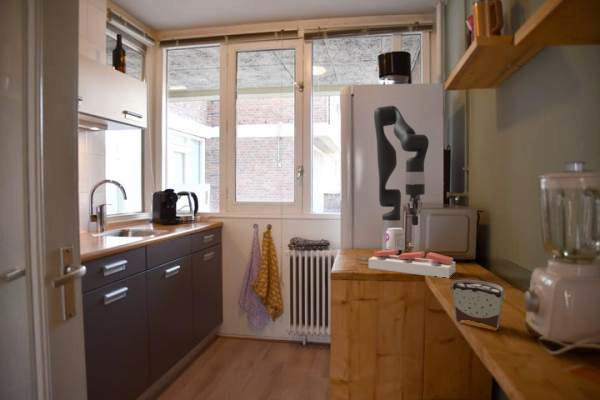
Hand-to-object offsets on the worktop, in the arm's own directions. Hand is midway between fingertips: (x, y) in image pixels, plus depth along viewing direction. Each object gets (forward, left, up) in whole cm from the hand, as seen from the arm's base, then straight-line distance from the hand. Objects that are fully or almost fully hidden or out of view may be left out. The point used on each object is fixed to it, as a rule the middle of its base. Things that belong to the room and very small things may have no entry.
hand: (415, 225), depth 144 cm
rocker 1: (+1, -12, -13) cm, 18 cm away
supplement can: (-14, -13, -19) cm, 27 cm away
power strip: (+2, -5, -19) cm, 19 cm away
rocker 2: (+1, +10, -13) cm, 16 cm away
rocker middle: (+1, -1, -13) cm, 13 cm away
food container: (+49, +30, -19) cm, 61 cm away
